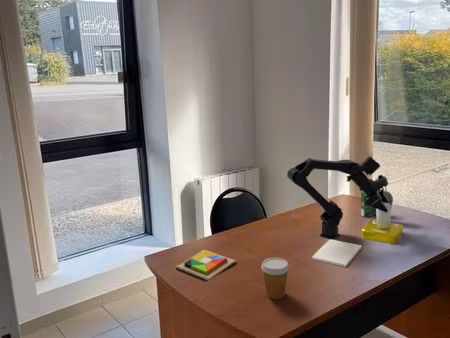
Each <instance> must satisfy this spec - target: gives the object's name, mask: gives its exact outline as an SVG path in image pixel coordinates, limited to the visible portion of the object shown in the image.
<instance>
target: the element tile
mask: <svg viewBox="0 0 450 338" xmlns="http://www.w3.org/2000/svg"><path fill="white" fill-rule="evenodd" d="M403 232H404V225H403V224H400V223H396V222H391V227H390V228H379V227H377V219H370V220H369V221H367V223H365V225H364V226H363V227H361V238H362V239H364V240H370V241H375V242H379V243H385V244H390V245H391V244H393V245H394V244H397V243H398V241H399V240H400V238H401V237H402V235H403V234H404V233H403Z"/></svg>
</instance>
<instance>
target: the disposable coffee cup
mask: <svg viewBox="0 0 450 338" xmlns="http://www.w3.org/2000/svg"><path fill="white" fill-rule="evenodd" d="M261 270H262V273H263V279H264V285H265V294H266V296H267V298H268V299H269V298H270V299H272V300H280V299H283V298H284V297H285V295H286V286H287V279H288V271H289V270H290V265H289V263H288V261H287V260H286V259H283V258H281V257H269V258H265V259H264V260H263V262H262V264H261Z"/></svg>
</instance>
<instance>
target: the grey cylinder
mask: <svg viewBox="0 0 450 338" xmlns="http://www.w3.org/2000/svg"><path fill="white" fill-rule="evenodd" d="M383 204H384V205H385V207H386V208H387V210H388V212H387V213H386V212H384V211H381V210H379V209H376V215H375V216H376V220H377V227H379V228H390V227H391V223H392V220H391V219H392V215H391V214H392V211H391V210H392V206H390V204H389V203H383Z"/></svg>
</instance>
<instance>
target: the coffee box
mask: <svg viewBox="0 0 450 338" xmlns="http://www.w3.org/2000/svg"><path fill="white" fill-rule="evenodd" d="M366 199H367V197H366V194H365V193H364V192H363V191H360V216H361V217H362V218H367V217H371V216H377V215H376V208H374V207H370V206H368V205H367V204H366Z"/></svg>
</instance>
